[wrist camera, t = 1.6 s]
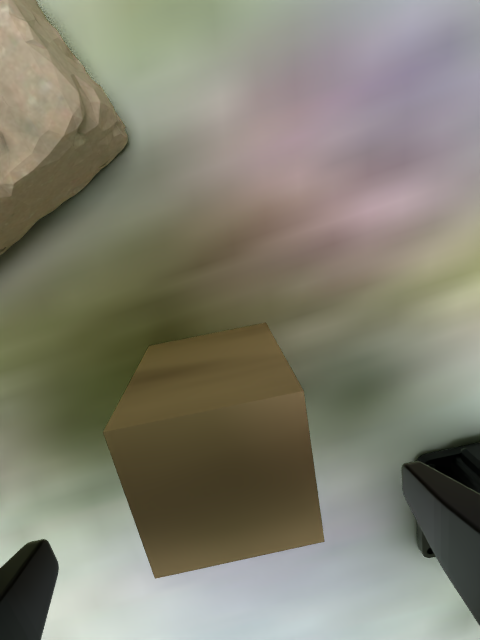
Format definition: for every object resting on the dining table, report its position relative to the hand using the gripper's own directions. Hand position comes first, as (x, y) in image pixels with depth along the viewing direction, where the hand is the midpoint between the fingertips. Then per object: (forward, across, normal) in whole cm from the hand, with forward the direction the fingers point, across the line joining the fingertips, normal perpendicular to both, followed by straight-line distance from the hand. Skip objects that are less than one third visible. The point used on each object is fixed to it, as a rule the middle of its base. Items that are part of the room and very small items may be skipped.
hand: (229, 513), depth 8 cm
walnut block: (+7, 0, 0) cm, 7 cm away
